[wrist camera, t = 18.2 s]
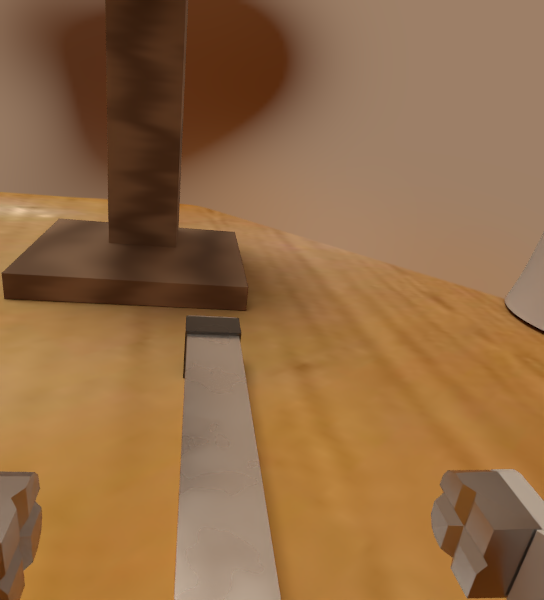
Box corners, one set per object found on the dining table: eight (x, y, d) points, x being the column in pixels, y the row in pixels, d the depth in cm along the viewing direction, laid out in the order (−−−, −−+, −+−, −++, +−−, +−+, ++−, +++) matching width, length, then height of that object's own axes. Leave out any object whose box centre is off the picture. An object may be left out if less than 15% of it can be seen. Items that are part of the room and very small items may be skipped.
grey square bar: (233, 358, 32) (238, 314, 31) (290, 810, 12) (309, 736, 11) (184, 357, 31) (186, 312, 30) (158, 828, 12) (162, 752, 10)
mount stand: (233, 249, 54) (257, -28, 44) (245, 310, 39) (286, -85, 29) (60, 237, 51) (44, -64, 41) (4, 298, 36) (-43, -147, 26)
